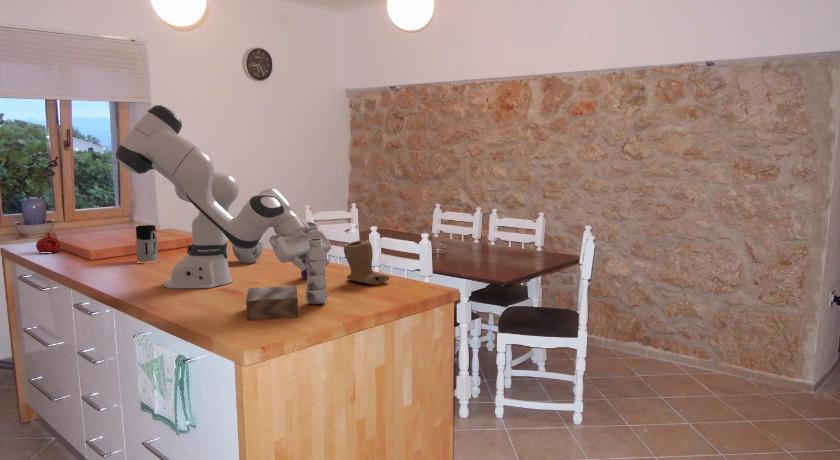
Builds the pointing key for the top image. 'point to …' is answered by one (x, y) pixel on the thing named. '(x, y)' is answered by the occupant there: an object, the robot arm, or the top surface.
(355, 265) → the brown boot
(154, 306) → the top surface
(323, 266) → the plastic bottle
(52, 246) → the pomegranate
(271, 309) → the metal riser
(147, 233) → the grey and black mug
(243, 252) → the teacup
